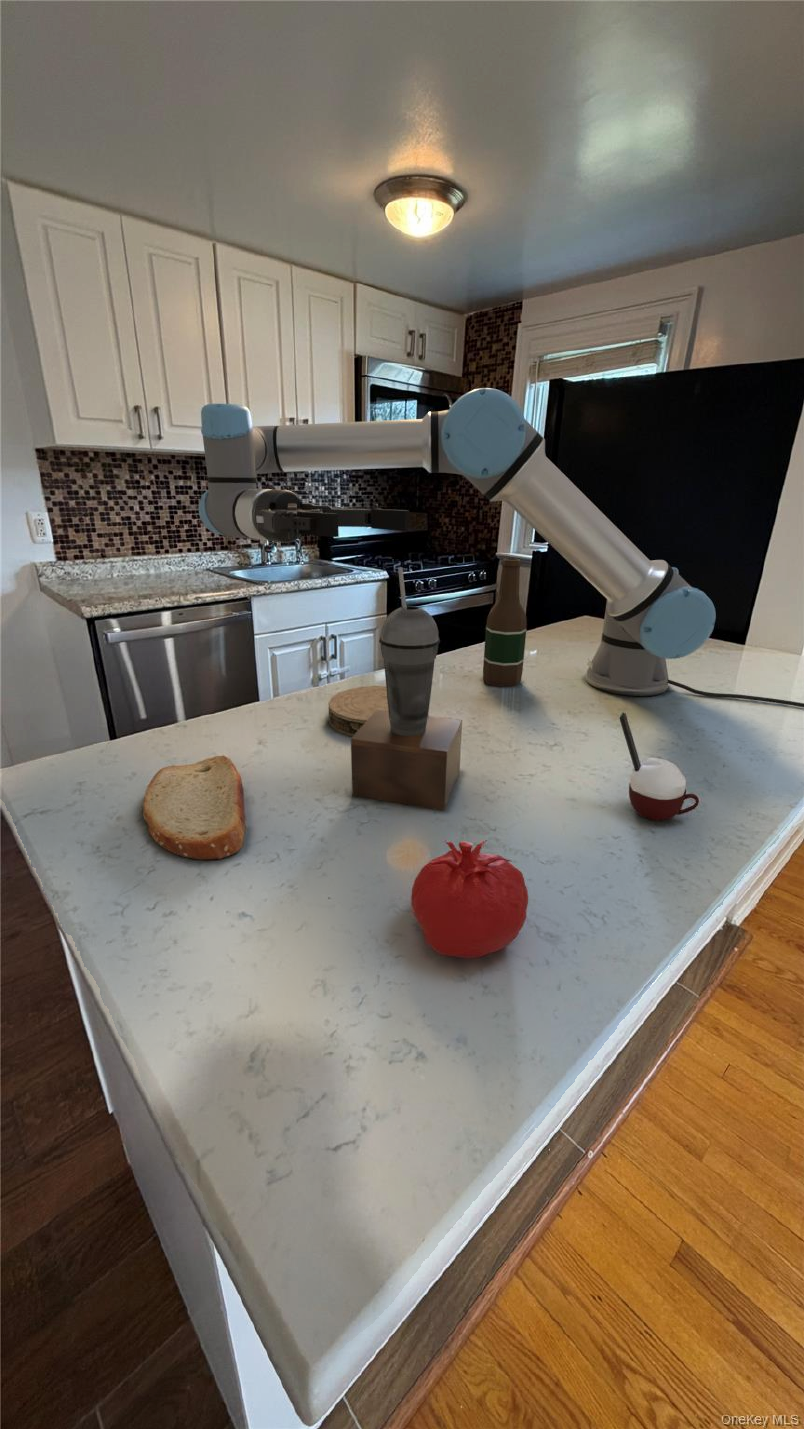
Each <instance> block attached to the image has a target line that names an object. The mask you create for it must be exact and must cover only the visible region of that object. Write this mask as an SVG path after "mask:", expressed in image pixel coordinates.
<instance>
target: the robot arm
mask: <svg viewBox="0 0 804 1429" xmlns="http://www.w3.org/2000/svg"><path fill="white" fill-rule="evenodd" d="M200 421H201V429H200V434H201V435H202V442H203V451H204V458H205V466H206V474H207V488H208V490H206V491H205V492H204V493H203V494H202V495H201V498H200V500H199V504H198V515H199V518H200V521H201V523H202V524H203V525H204V527H205V528H206V529H208V530H209V531H210V532H211V533H214V534H216V535H220V536H223V537H224V536H225V537H226V538H237V539H250V540H259V543H260V544H261V545H265V544H266V543H267V541H269V542H275V543H283V544H289V543H294V542H295V541H297V540H298V539H299V538H300V537H301V536H302V535H307V536H308V535H309V536H316V537H326V538H327V537H328V538H339V537H340V535H339V534H340V533H339V527H341V528H350V527H351V528H371V529H372V530H373V529H374V530H387V531H398V532H409V529H410V528H409V526H410V525H409V521H410V520H409V519H410V510H407V509H388V508H387V509H385V508H380V507H379V504H378V503H373V508H353V507H351V508H349V507H347V508H346V507H332V506H331V505H327V504H325V505H323V504H321V505H320V504H319V505H318V504H314V503H313V502H312V503H306V502H305V503H303V501H302V499H301V497H299V495H297V494H296V492H293V491H291V490H287V489H270V488H257V475H264V474H266V475H267V474H269V473H286V472H287V473H289V472H291V473H293V472H312V471H313V472H315V471H316V472H319V471H320V472H321V471H346V470H371V469H373V470H374V469H377V470H378V469H398V468H399V469H403V468H423V469H425V470H426V471H427V472H428V473H429V474H434V473H435V474H436V473H446V474H456V475H460V476H463V477H464V478H465V479H466V480H467V481H468V482H469V483H471V484H472V485H473V486H474V487H475V488H476V489H477V490H478V491H479V492H480V493H481V495H483V496H484V497H485V498H486V499H487V500H488V501H490V502H505V503H506V504H507V505H508V506H510V507H511V509H513V510H514V511H515V512H516V513H517V515H519V516H520V517H521V518H522V519H523V520H524V521H525V522H526V523H527V524H528V525H530V526H531V527H532V529H533V530H534V531H536V532H537V534H539V535H540V537H542V538H543V539H544V540H545V541H546V542H547V543H548V544H549V545H550V546H551V547H552V548H553V549H554V550H555V551H557V552H558V553H559V554H560V555H561V556H562V558H564V559H565V560H566V561H567V562H568V563H569V564H570V565H571V566H572V567H573V568H574V569H575V570H576V571H577V572H578V573H579V574H580V575H581V576H582V577H584V579H586V581H588V583H590V584H591V585H592V587H594V588H595V589H596V590H597V591H598V592H599V593H600V594H601V595H602V596H603V597H604V598H605V599H606V604H605V612H604V619H603V625H602V633H601V639H600V643H599V645H598V648H597V650H596V652H595V654H594V655H593V657H592V659H591V660H590V659H589V658H587V661H586V665H587V666H588V668H587V670H586V676H585V680H586V682H587V683H588V684H589V685H590V686H593V687H594V688H596V689H598V690H601V691H604V692H608V693H612V694H617V695H624V696H633V697H648V696H649V697H650V696H656V695H661V694H663V693H665V692H666V691H667V690H668V685H672V686H674V687H678V688H681V689H683V690H685V691H688V692H690V693H692V694H696V695H700V696H704V697H713V698H726V699H728V698H729V699H742V700H750V701H757V702H766V703H774V704H781V705H787V706H793V707H799V708H804V702H799V701H793V700H786V699H779V698H772V697H764V696H757V695H755V696H754V695H746V694H739V693H738V694H737V693H720V692H709V691H704V690H700V689H699V690H698V689H695V688H693V687H690V686H688V685H686V684H684V683H680V682H678V681H674V680H672V679H669V673H668V666H667V660H672V659H674V660H675V659H681V658H684V657H687V656H689V655H691V654H693V653H695V652H696V651H697V650H699V649H700V648H701V647H703V646H704V644H705V643H706V642H707V641H708V639H709V638H710V637H711V635H712V633H713V631H714V628H715V623H716V619H717V615H716V608H715V606H714V603H713V601H712V599H710V597H709V596H707V593H705V592H704V591H702V590H700V589H699V588H696V587H693V586H691V585H690V584H689V583H688V582H687V581H686V580H685V579H684V578H683V577H682V575H680V574H679V572H680V571H679V569H678V568H677V567H675V566H671V565H670V564H669V563H668V562H667V561H666V560H664V559H655V560H650V559H649V558H648V557H647V556H646V555H645V554H644V553H643V551H641V550H640V549H639V548H638V547H637V546H636V544H634V543H633V542H632V541H631V539H629V538H628V537H627V536H626V535H625V534H624V533H623V531H621V530H620V529H619V528H618V527H617V526H616V524H614V523H613V522H612V521H611V520H610V519H609V518H608V516H606V515H605V514H604V513H603V511H602V510H600V509H599V508H598V507H597V506H596V505H595V504H594V503H593V502H592V501H591V500H590V499H589V498H588V497H587V496H586V495H585V494H584V493H583V492H582V491H581V490H580V489H579V487H577V486H576V485H575V484H574V482H572V481H571V480H570V478H568V477H567V476H566V474H564V473H563V472H562V471H561V469H560V468H559V467H557V466H556V465H555V463H553V462H552V461H551V460H550V459H549V458H548V457H547V455H546V439H545V438H544V436H542V435H541V434H540V433H539V432H538V430H536V428H534V426H532V424H531V423H529V422H528V420H526V417H525V416H524V413H523V410H522V408H521V407H520V405H519V404H518V402H517V401H516V400H515V399H514V398H513V397H512V396H511V395H509V394H508V393H506V392H504V391H503V390H500V389H496V388H492V387H480V388H475V389H473V390H470V391H468V392H465V393H464V394H463V395H461V396H459V397H458V398H457V399H456V400H455V402H454V403H453V404H452V405H451V406H450V408H449V409H445V410H439V411H428V412H427V413H426V414H425V416H423V418H413V419H391V420H370V421H349V422H347V421H346V422H345V421H344V422H326V423H323V422H322V423H305V424H304V423H303V424H302V423H301V424H281V425H254V424H253V422H252V415H251V410H250V409H249V408H248V407H246V406H245V405H242V404H235V403H207V404H205V405H203V406H202V408H201V410H200ZM666 659H667V660H666Z"/></svg>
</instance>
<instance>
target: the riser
mask: <svg viewBox="0 0 804 1429" xmlns="http://www.w3.org/2000/svg"><path fill="white" fill-rule="evenodd" d="M462 734H463V719H458V718H450V717H442V716H433V715H428V719H427V724H426V731H425V732H424V733H422V734H420V735H416V736H402V735H398V734H395V733H394V732H392V731H391V724H390V719H389V711H382V710H376V711H375V712H374V713H373V714H372V715H371V717H370V718H369V719H368V720H367V721H366V722H365V723H364V724H363V726H362V727H361V728H360V729H359V730H358V731H357V732H356V734H355V735H354V736H351V738H350V761H351V764H350V765H351V766H350V767H351V795H352V797H357V798H365V799H370V800H371V799H372V800H377V801H383V802H390V803H396V804H403V805H409V806H415V807H421V808H427V809H432V810H433V809H434V810H439V811H445V810H446V807H447V805H448V802H449V801H450V798H451V795H452V792H453V790H454V788H455V785H456V783H457V780H458V778H459V776H460V772H461V771H460V770H461V755H462V754H461V751H462Z"/></svg>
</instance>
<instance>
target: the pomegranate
mask: <svg viewBox="0 0 804 1429" xmlns="http://www.w3.org/2000/svg"><path fill="white" fill-rule="evenodd" d="M487 841H488V839H485V840H483V841H481V842H480V843H478V844H476V846H475V847H474V848H473V845H474V844H473V843H470V842H468V841H459V843H458V847H459V849H457V848H456V846H455V845H454V843H453V842H452V841H447V840H444V843H445V844H446V845H447V847H449V850H448V851H447V852H445V853H444V854H441V855H439V856H437V857H435V858H433V859H430V861H429V862H428V863H426V864H425V865H423V866H422V867H421V869H420V870H419V872H418V873H417V875H416V876H415V878H414V880H413V883H412V887H411V893H410V894H411V895H410V906H411V908H412V913H413V915H414V918H415V920H416V921H417V923H418V924H419V927H421V929H422V933H423V935H424V938H425V941H426V942H427V944H428V945H429V946H430V947H431V948H432V949H433V950H434V951H435V952H436V953H438V954H441V955H443V956H445V957H446V956H447V957H459V958H470V959H472V958H473V959H474V958H481V957H483V956H485V955H488V954H491V953H494V952H498V951H501V950H502V949H503V948H505V947H507V946H508V945H510V944H511V943H512V942H513V941H514V940H515V939H516V938H517V937H518V935H519V933H520V931H521V930H522V928H523V926H524V924H525V922H526V919H527V910H528V906H529V891H528V888H527V885H526V880H525V877H524V874H523V873H522V871H521V870H520V869H519V868H518V867H515V866H514V864H512V863H511V862H512V859H507V858H505V857H503V856H501V855H499V854H495V853H488V852H487V853H486V852H481V849H482V847H483V845H484V844H485V843H486V842H487Z"/></svg>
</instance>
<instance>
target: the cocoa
mask: <svg viewBox="0 0 804 1429" xmlns="http://www.w3.org/2000/svg"><path fill="white" fill-rule="evenodd" d="M618 719H619V722H620V725H621V729H622V732H623V736H624V739H625V742H626V745H627V748H628V752H629V755H630V759H631V762H632V765H633V769H632V771H630V774H629V784H628V796H629V797H628V798H629V801H630V805H631V806H632V808H633V809H634V810H635V812H636V813H637V814H638V815H640V816H641V817H642V818H644V819H647V820H651V821H656V822H657V821H658V822H662V821H667V820H671V819H672V818H674V817H676V816H679V815H684V814H688V813H690V812H691V811H693V810H695V809H696V808H697V807H699V804H700V799H699V797H698V795H696V794H695V793H687V789H686V786H687V785H686V784H687V779H686V778H685V776H684V775H683V773H682V772H681V770H680V769H679V767H678V766H677V765H676V763H672V762H671V761H669V760H667V759H663V758H657V757H649V758H646V759H644V760H642V761H640V758H639V754H638V750H637V747H636V745H635V741H634V737H633V733H632V730H631V727H630V724H629V720H628V716H627V713H626V712H623V711H622V713H621V714H620V715H619V718H618ZM687 799H692V800H694V801H695V802H694V803H693V804H692V805H691V806H687V807H685V808H684V809H682V807H683V805H684V803H685V801H686V800H687Z"/></svg>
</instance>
